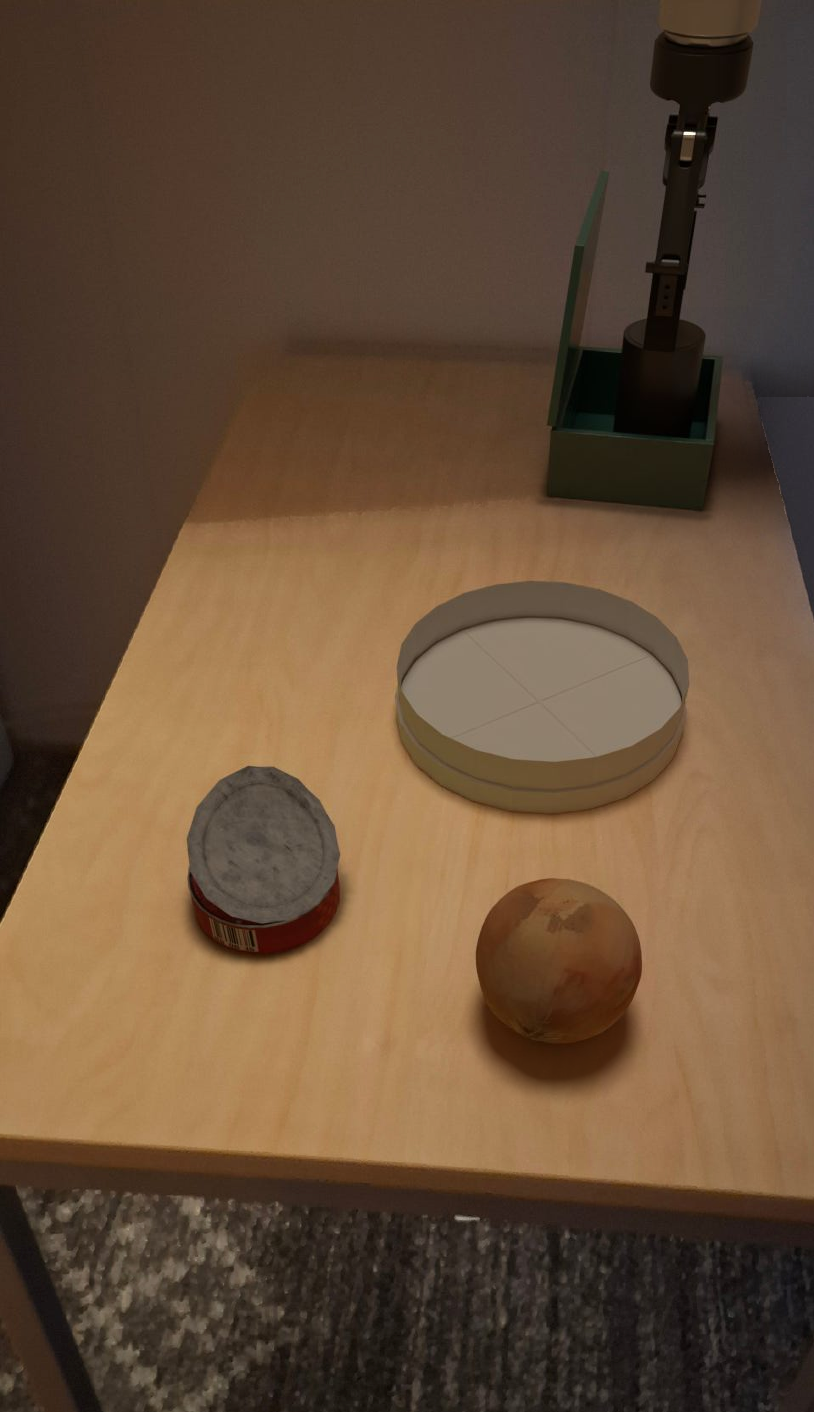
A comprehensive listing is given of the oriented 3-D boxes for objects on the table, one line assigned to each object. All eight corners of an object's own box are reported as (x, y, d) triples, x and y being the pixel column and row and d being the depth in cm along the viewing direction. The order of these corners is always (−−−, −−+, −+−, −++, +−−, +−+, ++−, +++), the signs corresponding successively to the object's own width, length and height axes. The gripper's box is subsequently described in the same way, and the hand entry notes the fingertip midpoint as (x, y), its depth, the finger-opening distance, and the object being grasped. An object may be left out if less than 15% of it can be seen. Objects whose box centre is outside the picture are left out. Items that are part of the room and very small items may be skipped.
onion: (634, 954, 75) (655, 846, 67) (629, 1086, 68) (651, 983, 61) (484, 937, 76) (488, 829, 68) (464, 1065, 69) (466, 962, 62)
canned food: (326, 899, 84) (387, 810, 78) (293, 1001, 77) (356, 912, 71) (184, 829, 82) (234, 731, 76) (135, 927, 75) (186, 828, 68)
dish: (497, 858, 80) (499, 807, 77) (345, 688, 93) (341, 636, 90) (743, 744, 88) (756, 692, 84) (570, 601, 101) (575, 550, 97)
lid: (609, 172, 106) (600, 170, 106) (584, 246, 94) (574, 245, 94) (580, 341, 117) (572, 340, 117) (555, 427, 106) (546, 425, 106)
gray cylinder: (670, 435, 118) (688, 312, 109) (697, 471, 113) (718, 345, 104) (600, 444, 117) (612, 322, 108) (624, 481, 112) (639, 355, 103)
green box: (711, 426, 121) (723, 356, 115) (700, 518, 109) (714, 444, 103) (570, 415, 123) (576, 345, 118) (545, 504, 111) (550, 431, 106)
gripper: (668, -7, 98) (636, 261, 114) (640, 77, 82) (608, 375, 98) (759, -4, 97) (714, 266, 113) (749, 81, 81) (698, 383, 96)
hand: (665, 317), depth 105 cm, fingers open, 13 cm apart
